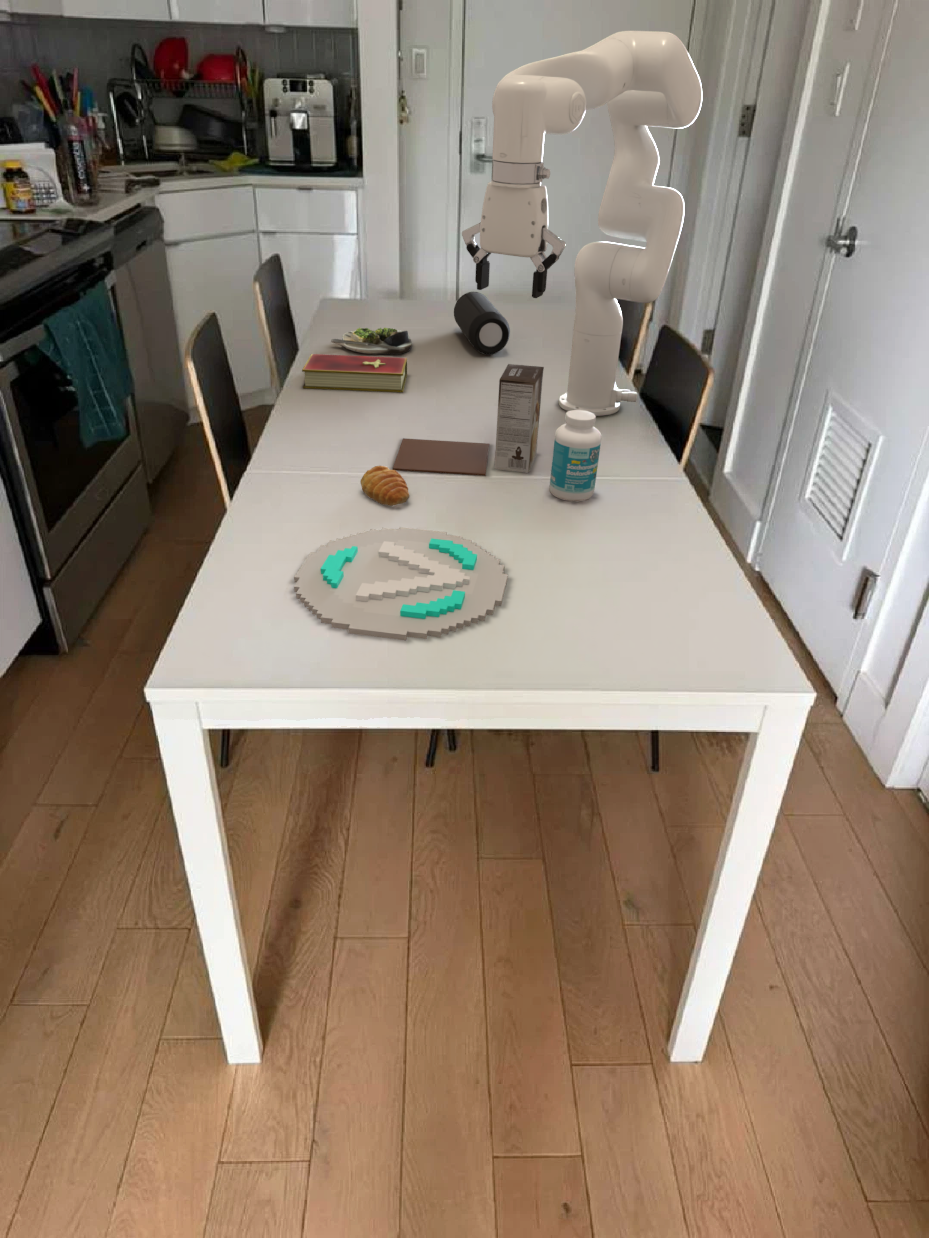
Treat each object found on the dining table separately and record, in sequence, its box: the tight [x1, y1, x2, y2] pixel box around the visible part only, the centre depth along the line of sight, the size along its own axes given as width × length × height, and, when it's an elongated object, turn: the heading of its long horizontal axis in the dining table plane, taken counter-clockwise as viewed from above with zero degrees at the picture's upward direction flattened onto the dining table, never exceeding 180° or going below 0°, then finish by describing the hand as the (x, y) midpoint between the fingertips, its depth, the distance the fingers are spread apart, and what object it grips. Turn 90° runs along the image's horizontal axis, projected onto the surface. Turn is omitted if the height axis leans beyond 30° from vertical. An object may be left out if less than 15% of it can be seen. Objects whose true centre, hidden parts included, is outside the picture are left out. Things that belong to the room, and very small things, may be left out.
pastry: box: [360, 465, 410, 507], centre depth 141 cm, size 9×7×4 cm
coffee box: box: [494, 363, 545, 474], centre depth 152 cm, size 9×6×16 cm
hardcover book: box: [301, 353, 408, 393], centre depth 190 cm, size 12×21×4 cm, turn 89°
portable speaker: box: [453, 291, 511, 356], centre depth 217 cm, size 26×10×10 cm, turn 11°
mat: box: [391, 437, 490, 477], centre depth 157 cm, size 16×14×1 cm
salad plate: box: [330, 327, 413, 355], centre depth 212 cm, size 19×18×5 cm
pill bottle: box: [549, 410, 602, 502], centre depth 142 cm, size 8×7×14 cm
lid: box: [293, 526, 509, 641], centre depth 119 cm, size 28×28×2 cm
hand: (509, 292), depth 142 cm, fingers open, 9 cm apart
